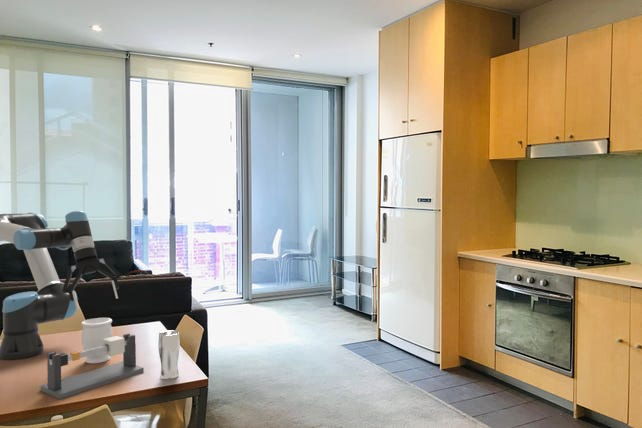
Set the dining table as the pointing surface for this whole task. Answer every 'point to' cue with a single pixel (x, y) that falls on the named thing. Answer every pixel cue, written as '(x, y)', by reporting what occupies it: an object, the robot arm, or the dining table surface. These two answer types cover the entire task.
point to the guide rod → (83, 353)
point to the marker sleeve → (114, 345)
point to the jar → (96, 337)
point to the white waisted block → (169, 353)
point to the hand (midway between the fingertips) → (97, 303)
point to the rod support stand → (90, 373)
